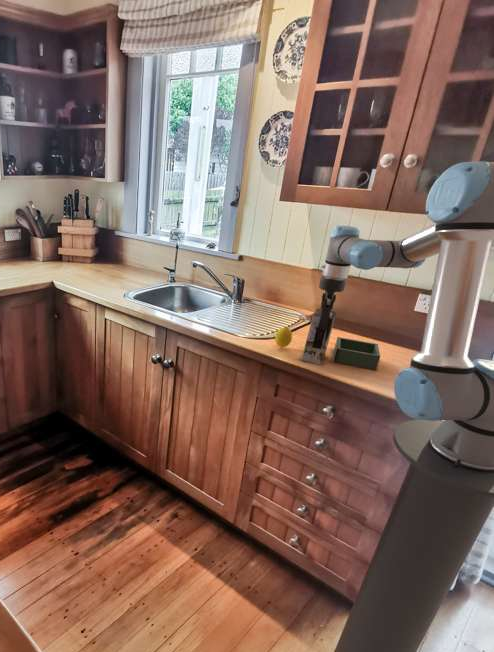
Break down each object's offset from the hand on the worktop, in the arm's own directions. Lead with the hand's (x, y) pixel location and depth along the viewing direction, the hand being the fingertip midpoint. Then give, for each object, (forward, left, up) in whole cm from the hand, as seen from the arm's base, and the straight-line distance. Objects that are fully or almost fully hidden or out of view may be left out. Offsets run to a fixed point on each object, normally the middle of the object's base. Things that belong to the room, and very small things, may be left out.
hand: (317, 342), depth 157 cm
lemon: (+4, +11, -6) cm, 13 cm away
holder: (+6, -13, -6) cm, 15 cm away
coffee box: (0, 0, -6) cm, 6 cm away
